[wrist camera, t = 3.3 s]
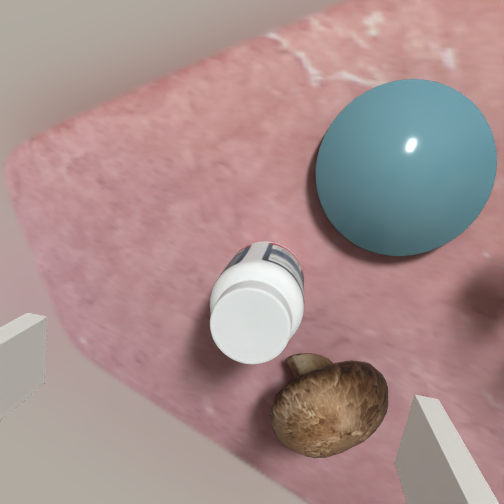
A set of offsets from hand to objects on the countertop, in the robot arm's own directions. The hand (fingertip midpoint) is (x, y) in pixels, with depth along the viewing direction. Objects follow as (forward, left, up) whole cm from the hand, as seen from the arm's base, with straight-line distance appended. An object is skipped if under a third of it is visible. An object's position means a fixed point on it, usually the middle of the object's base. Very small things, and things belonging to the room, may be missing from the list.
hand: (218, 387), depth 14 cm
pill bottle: (0, 0, -14) cm, 14 cm away
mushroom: (+1, +9, -14) cm, 17 cm away
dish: (-11, -1, -14) cm, 18 cm away
